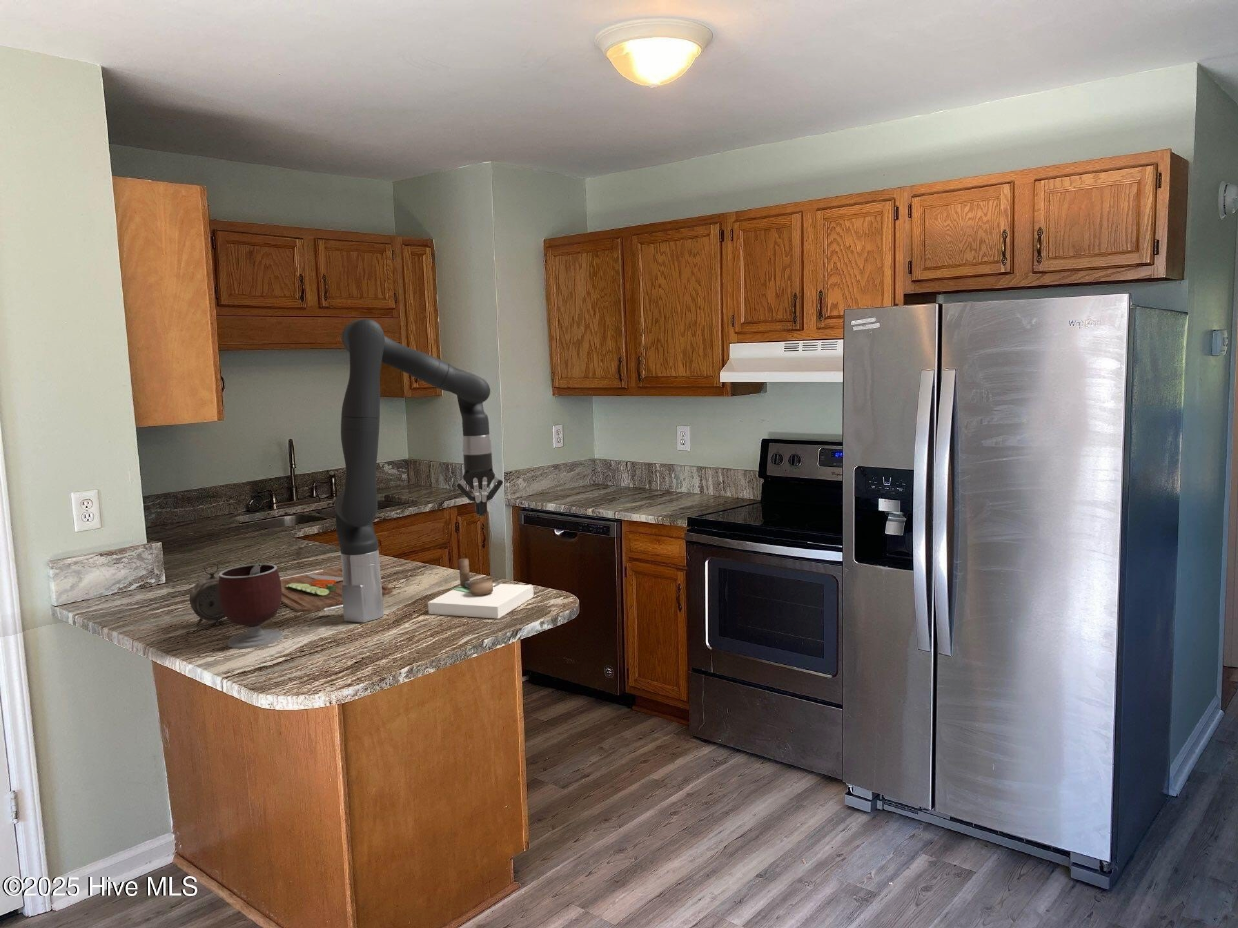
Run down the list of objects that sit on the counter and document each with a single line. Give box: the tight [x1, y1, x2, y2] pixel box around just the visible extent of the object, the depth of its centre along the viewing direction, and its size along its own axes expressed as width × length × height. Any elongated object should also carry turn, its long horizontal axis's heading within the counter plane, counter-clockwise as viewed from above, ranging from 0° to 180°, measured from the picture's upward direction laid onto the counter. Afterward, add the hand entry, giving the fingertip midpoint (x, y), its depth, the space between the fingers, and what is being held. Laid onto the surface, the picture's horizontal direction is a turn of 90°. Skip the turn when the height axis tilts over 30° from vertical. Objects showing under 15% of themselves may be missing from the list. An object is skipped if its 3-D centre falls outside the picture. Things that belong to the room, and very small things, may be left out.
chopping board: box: [280, 567, 393, 613], centre depth 261 cm, size 45×27×3 cm, turn 38°
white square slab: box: [427, 582, 534, 619], centre depth 237 cm, size 20×20×3 cm
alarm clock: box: [189, 561, 227, 627], centre depth 231 cm, size 11×5×16 cm, turn 123°
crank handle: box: [458, 557, 493, 595], centre depth 239 cm, size 13×6×7 cm, turn 37°
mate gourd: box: [218, 563, 284, 649], centre depth 215 cm, size 16×14×20 cm
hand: (481, 515), depth 244 cm, fingers closed
